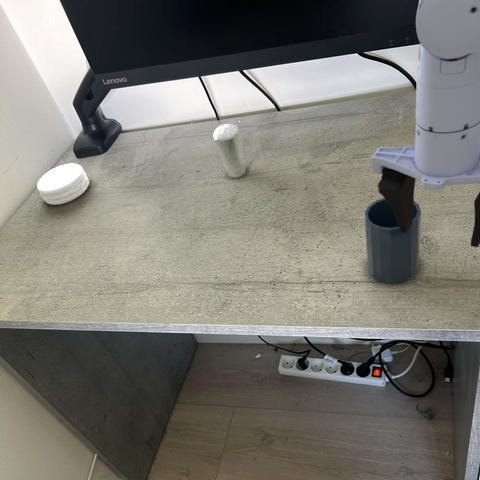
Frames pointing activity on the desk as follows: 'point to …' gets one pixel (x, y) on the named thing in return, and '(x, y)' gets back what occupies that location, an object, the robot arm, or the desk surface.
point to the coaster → (63, 184)
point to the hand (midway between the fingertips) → (440, 233)
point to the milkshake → (230, 149)
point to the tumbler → (391, 244)
